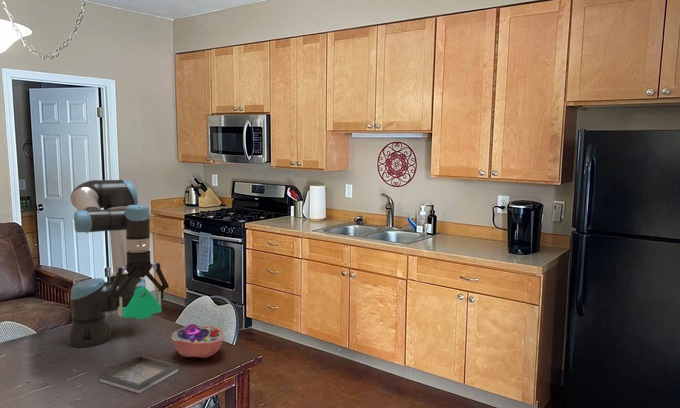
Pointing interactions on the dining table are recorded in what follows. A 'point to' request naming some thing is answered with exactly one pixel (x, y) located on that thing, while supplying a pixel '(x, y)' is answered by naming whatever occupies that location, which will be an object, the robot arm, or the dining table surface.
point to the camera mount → (141, 305)
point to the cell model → (197, 341)
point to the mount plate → (138, 373)
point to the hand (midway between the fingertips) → (139, 312)
